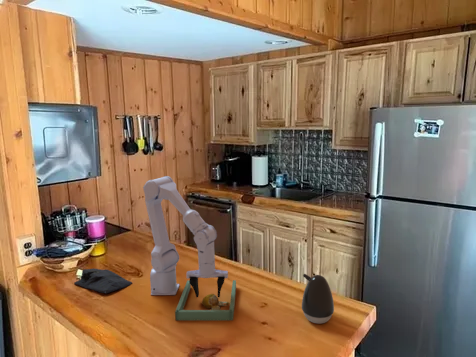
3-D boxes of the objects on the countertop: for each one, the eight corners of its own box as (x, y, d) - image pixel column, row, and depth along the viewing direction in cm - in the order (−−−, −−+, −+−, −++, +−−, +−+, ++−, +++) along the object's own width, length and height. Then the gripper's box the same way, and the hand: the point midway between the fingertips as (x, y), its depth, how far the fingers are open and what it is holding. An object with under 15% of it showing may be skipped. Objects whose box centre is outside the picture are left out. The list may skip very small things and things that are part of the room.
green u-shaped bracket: (175, 320, 117) (175, 312, 116) (187, 287, 138) (187, 280, 138) (233, 320, 116) (232, 312, 115) (236, 287, 137) (235, 280, 137)
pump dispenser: (310, 306, 123) (310, 265, 120) (338, 317, 116) (340, 274, 113) (295, 320, 115) (295, 277, 112) (324, 332, 108) (325, 286, 105)
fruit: (216, 315, 119) (216, 305, 119) (197, 308, 124) (196, 299, 123) (229, 303, 126) (229, 293, 126) (210, 297, 131) (210, 288, 130)
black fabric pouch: (101, 300, 131) (100, 288, 130) (71, 284, 145) (70, 273, 144) (135, 284, 143) (134, 273, 142) (105, 270, 156) (104, 260, 155)
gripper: (227, 255, 128) (229, 290, 130) (188, 256, 128) (190, 290, 131) (226, 264, 121) (227, 300, 123) (184, 264, 121) (186, 300, 124)
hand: (208, 296), depth 127 cm, fingers open, 7 cm apart
